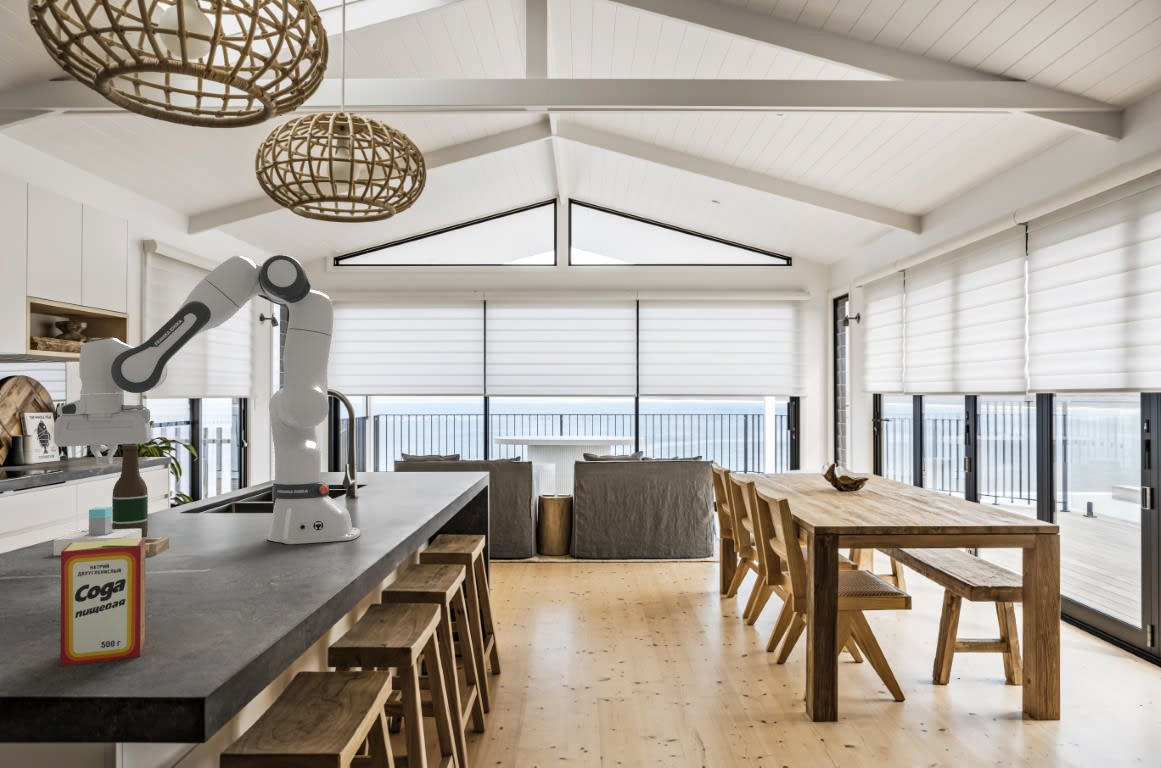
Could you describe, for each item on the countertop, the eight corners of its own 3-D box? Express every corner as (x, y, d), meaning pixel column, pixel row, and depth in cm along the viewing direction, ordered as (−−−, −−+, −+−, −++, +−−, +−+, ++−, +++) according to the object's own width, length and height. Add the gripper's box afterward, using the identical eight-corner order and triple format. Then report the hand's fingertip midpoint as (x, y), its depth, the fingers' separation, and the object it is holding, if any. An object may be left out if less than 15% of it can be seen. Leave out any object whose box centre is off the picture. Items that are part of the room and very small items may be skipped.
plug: (111, 544, 183) (111, 507, 183) (105, 547, 180) (105, 509, 180) (95, 545, 183) (95, 507, 183) (88, 548, 179) (88, 509, 179)
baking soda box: (60, 666, 105) (61, 548, 105) (69, 651, 111) (70, 540, 111) (140, 656, 109) (140, 543, 109) (145, 642, 115) (145, 535, 115)
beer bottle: (104, 540, 193) (105, 445, 194) (131, 535, 201) (131, 443, 201) (129, 542, 191) (129, 446, 191) (154, 536, 199) (155, 444, 199)
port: (141, 544, 188) (141, 527, 188) (120, 555, 176) (120, 536, 176) (78, 546, 186) (79, 529, 186) (53, 557, 174) (53, 538, 174)
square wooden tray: (169, 550, 182) (169, 537, 182) (156, 557, 174) (156, 544, 174) (132, 551, 180) (132, 538, 180) (118, 558, 173) (118, 545, 173)
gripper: (154, 404, 188) (156, 460, 188) (62, 407, 184) (64, 464, 184) (144, 404, 182) (146, 463, 182) (49, 408, 178) (51, 467, 178)
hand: (104, 464), depth 183 cm, fingers closed
